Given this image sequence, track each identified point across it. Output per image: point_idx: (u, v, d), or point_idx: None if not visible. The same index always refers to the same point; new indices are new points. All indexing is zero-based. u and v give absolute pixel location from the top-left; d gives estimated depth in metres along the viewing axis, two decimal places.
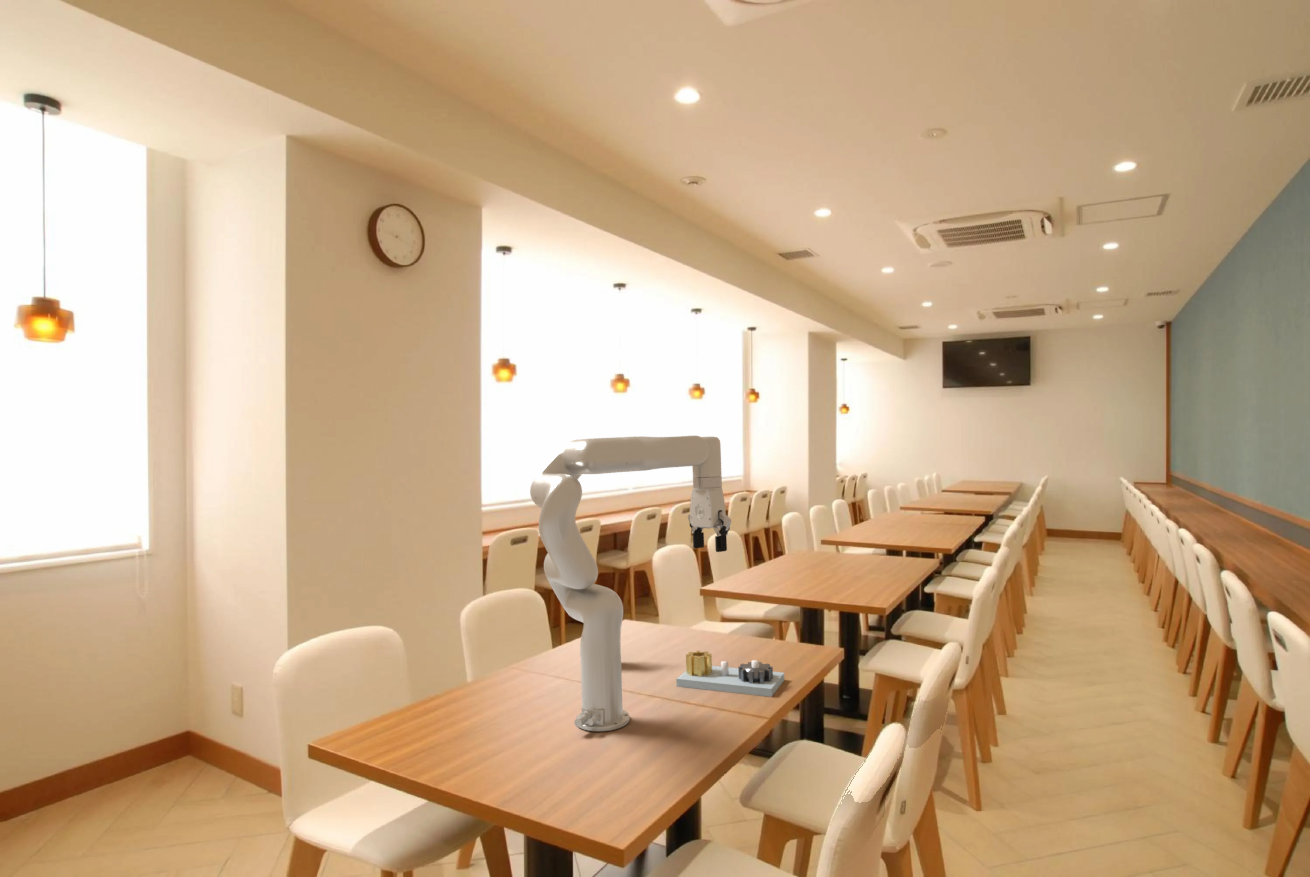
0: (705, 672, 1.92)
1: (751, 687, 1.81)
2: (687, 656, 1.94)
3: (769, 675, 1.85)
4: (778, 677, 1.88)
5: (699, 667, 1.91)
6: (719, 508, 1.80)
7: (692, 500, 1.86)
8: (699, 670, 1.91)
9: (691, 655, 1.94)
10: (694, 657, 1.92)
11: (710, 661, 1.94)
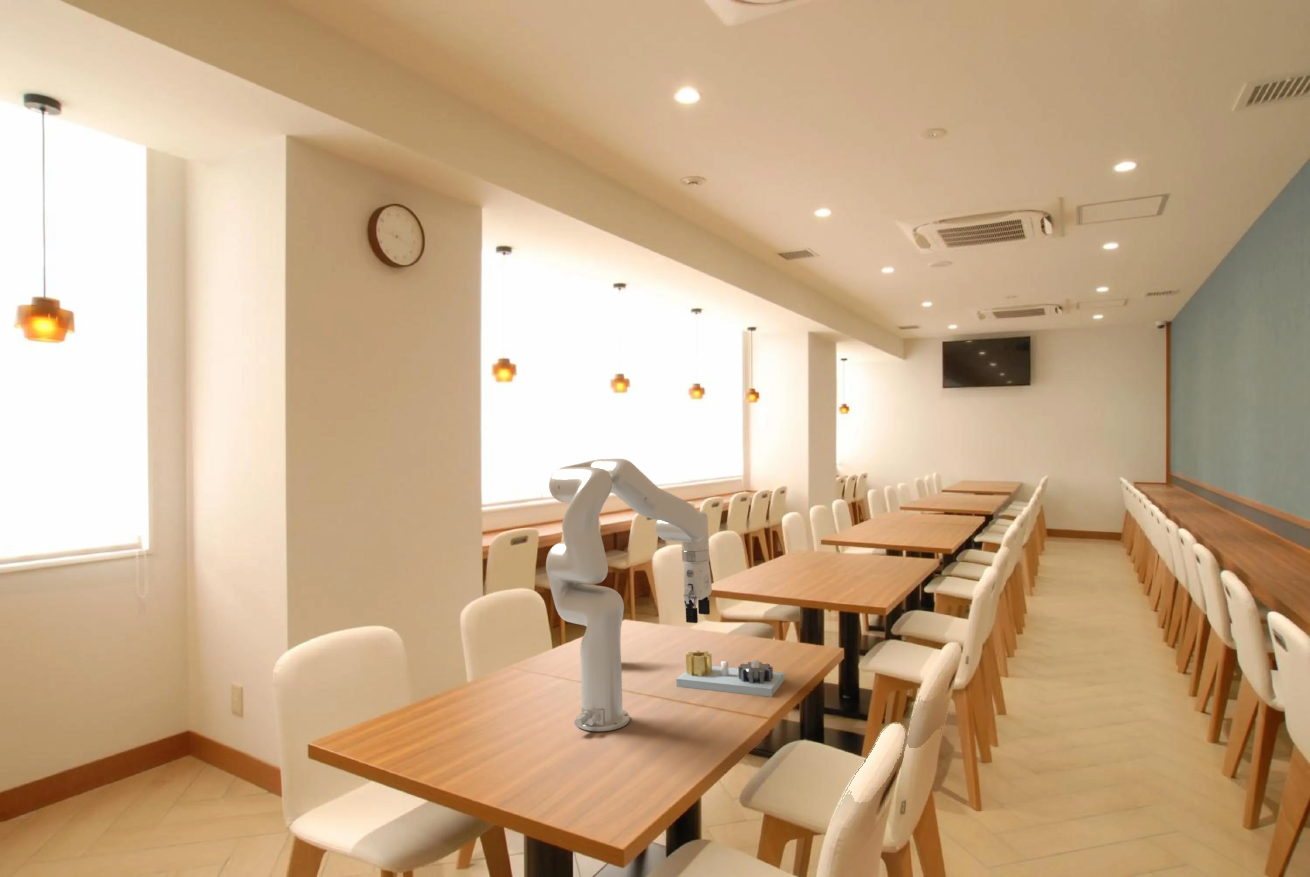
0: (705, 672, 1.92)
1: (751, 687, 1.81)
2: (687, 656, 1.94)
3: (769, 675, 1.85)
4: (778, 677, 1.88)
5: (699, 667, 1.91)
6: None
7: (701, 573, 1.91)
8: (699, 670, 1.91)
9: (691, 655, 1.94)
10: (694, 657, 1.92)
11: (710, 661, 1.94)
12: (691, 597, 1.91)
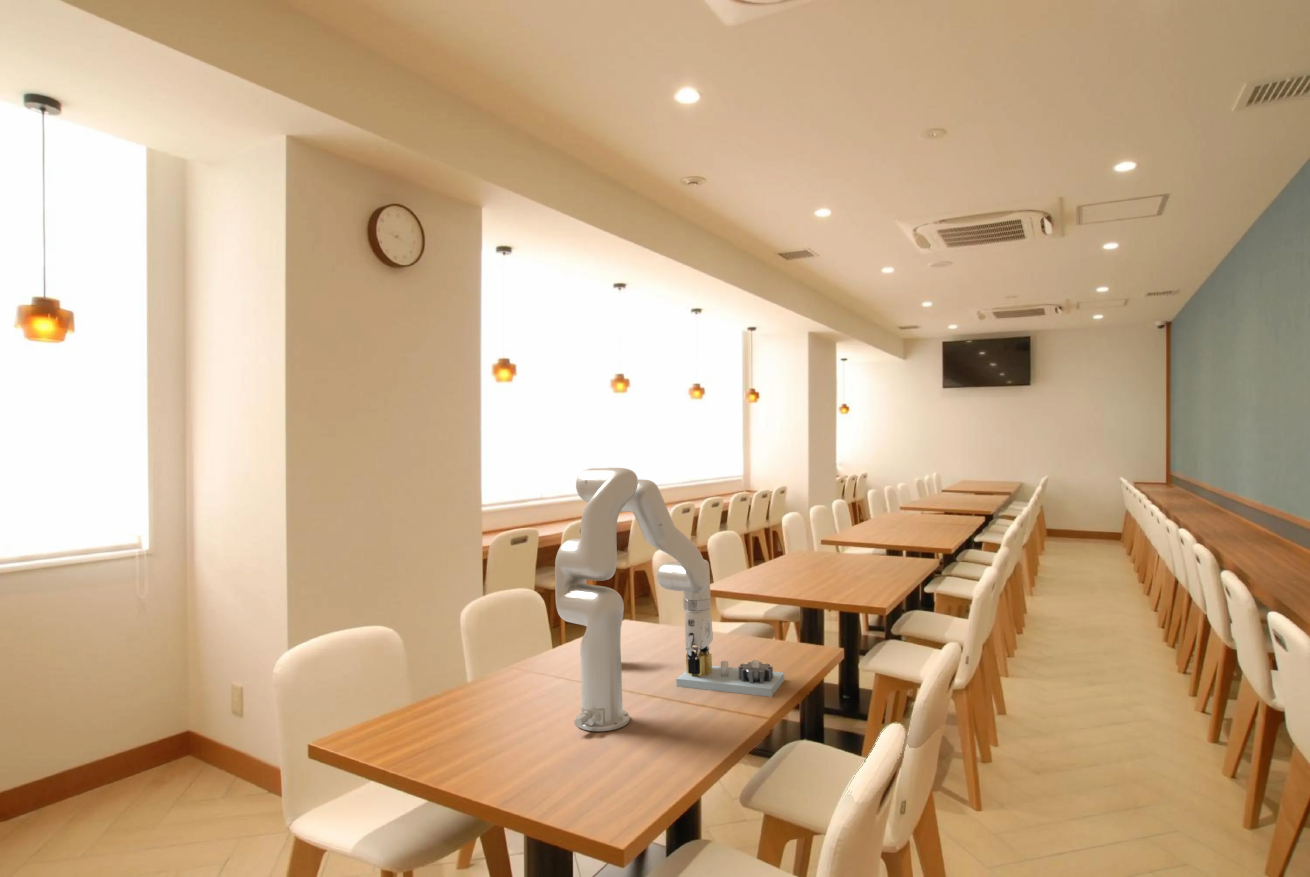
0: (705, 672, 1.92)
1: (751, 687, 1.81)
2: (687, 656, 1.94)
3: (769, 675, 1.85)
4: (778, 677, 1.88)
5: None
6: None
7: (702, 623, 1.91)
8: None
9: None
10: None
11: (710, 661, 1.94)
12: (693, 648, 1.91)
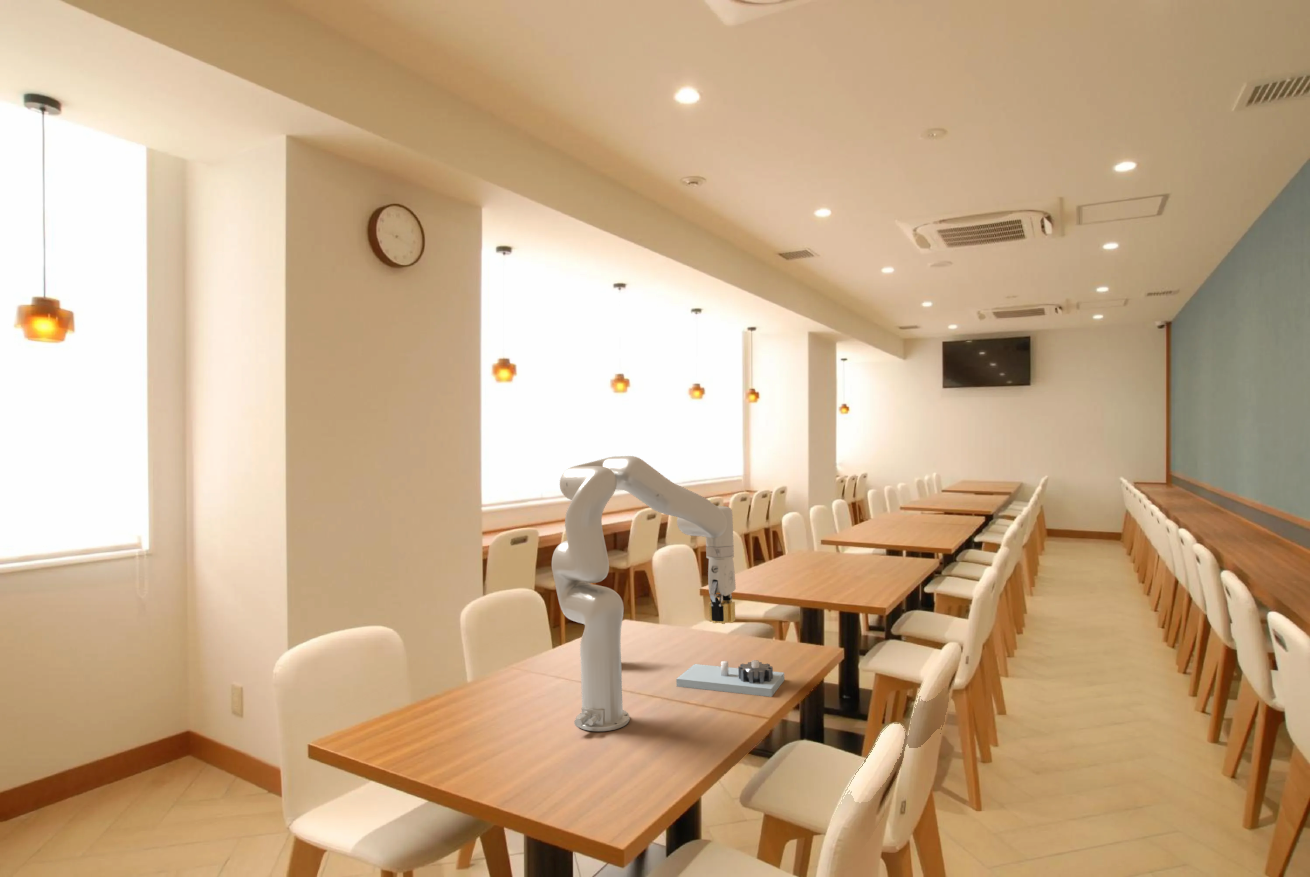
0: (729, 620, 1.90)
1: (751, 687, 1.81)
2: (710, 604, 1.92)
3: (769, 675, 1.85)
4: (778, 677, 1.88)
5: None
6: None
7: (726, 569, 1.88)
8: None
9: None
10: None
11: (733, 609, 1.92)
12: (716, 595, 1.88)
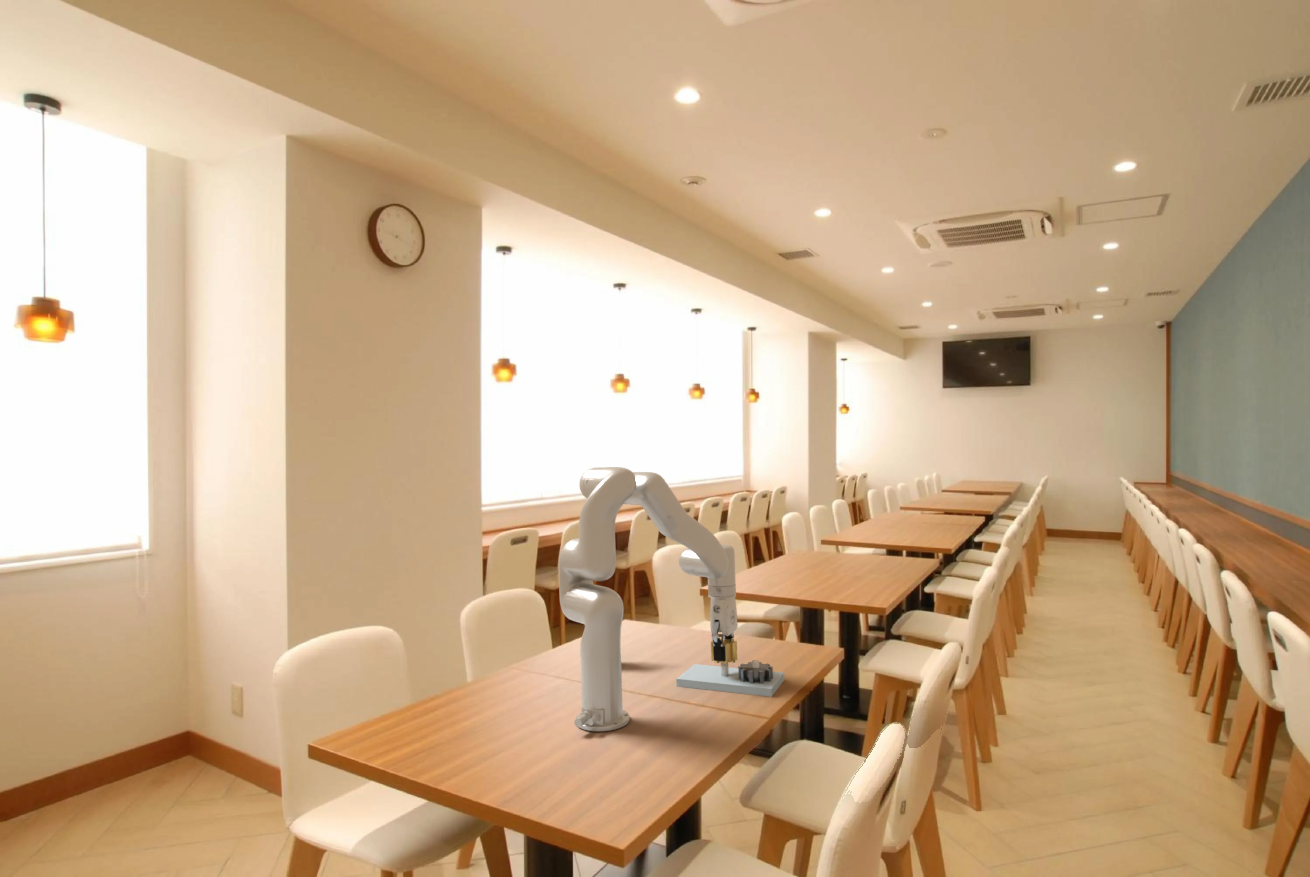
0: (731, 659, 1.89)
1: (751, 687, 1.81)
2: (712, 643, 1.91)
3: (769, 675, 1.85)
4: (778, 677, 1.88)
5: None
6: None
7: (728, 609, 1.88)
8: None
9: None
10: None
11: (735, 648, 1.91)
12: (718, 635, 1.88)
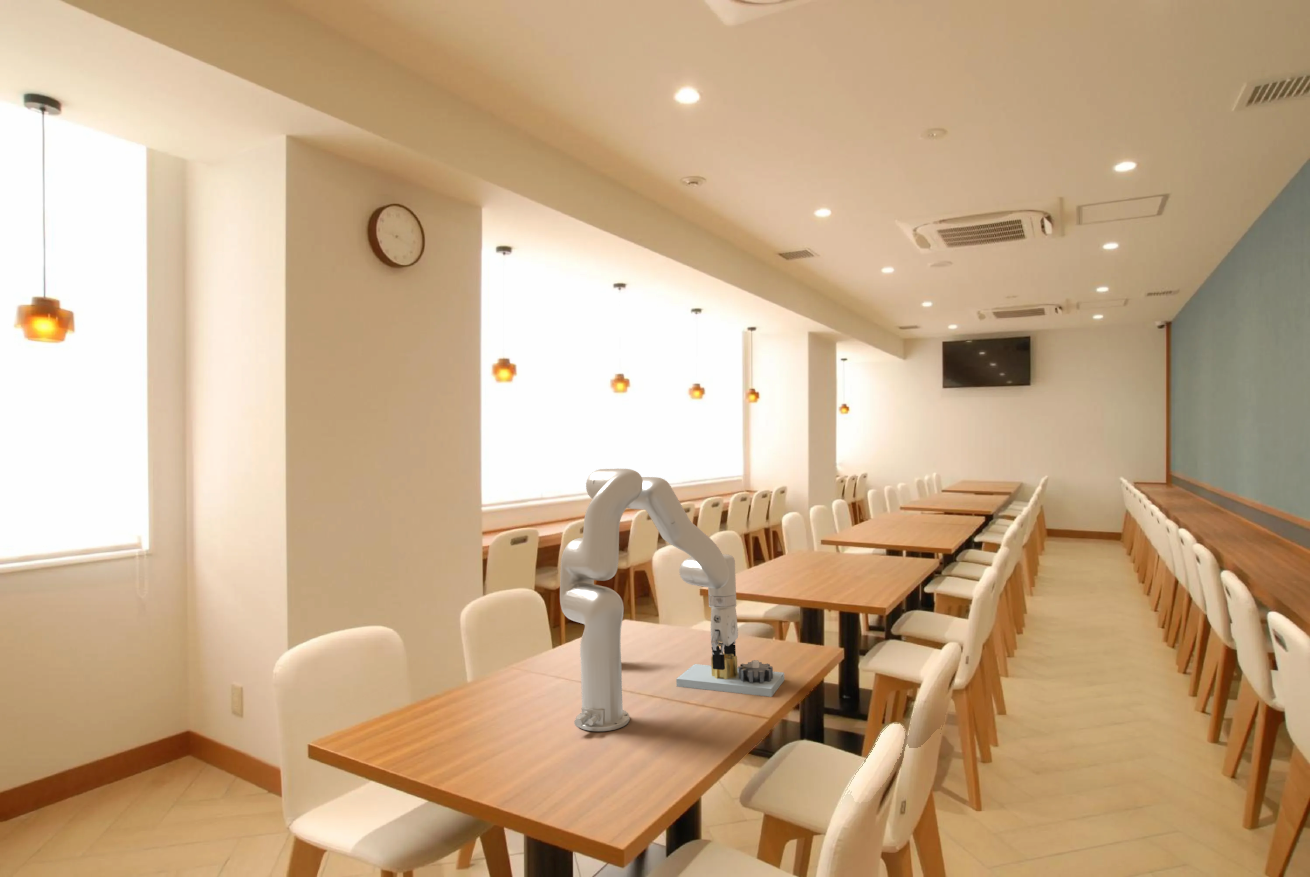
0: (731, 675, 1.89)
1: (751, 687, 1.81)
2: None
3: (769, 675, 1.85)
4: (778, 677, 1.88)
5: (725, 670, 1.88)
6: None
7: (728, 619, 1.88)
8: (725, 672, 1.88)
9: None
10: None
11: (736, 664, 1.91)
12: (718, 643, 1.88)
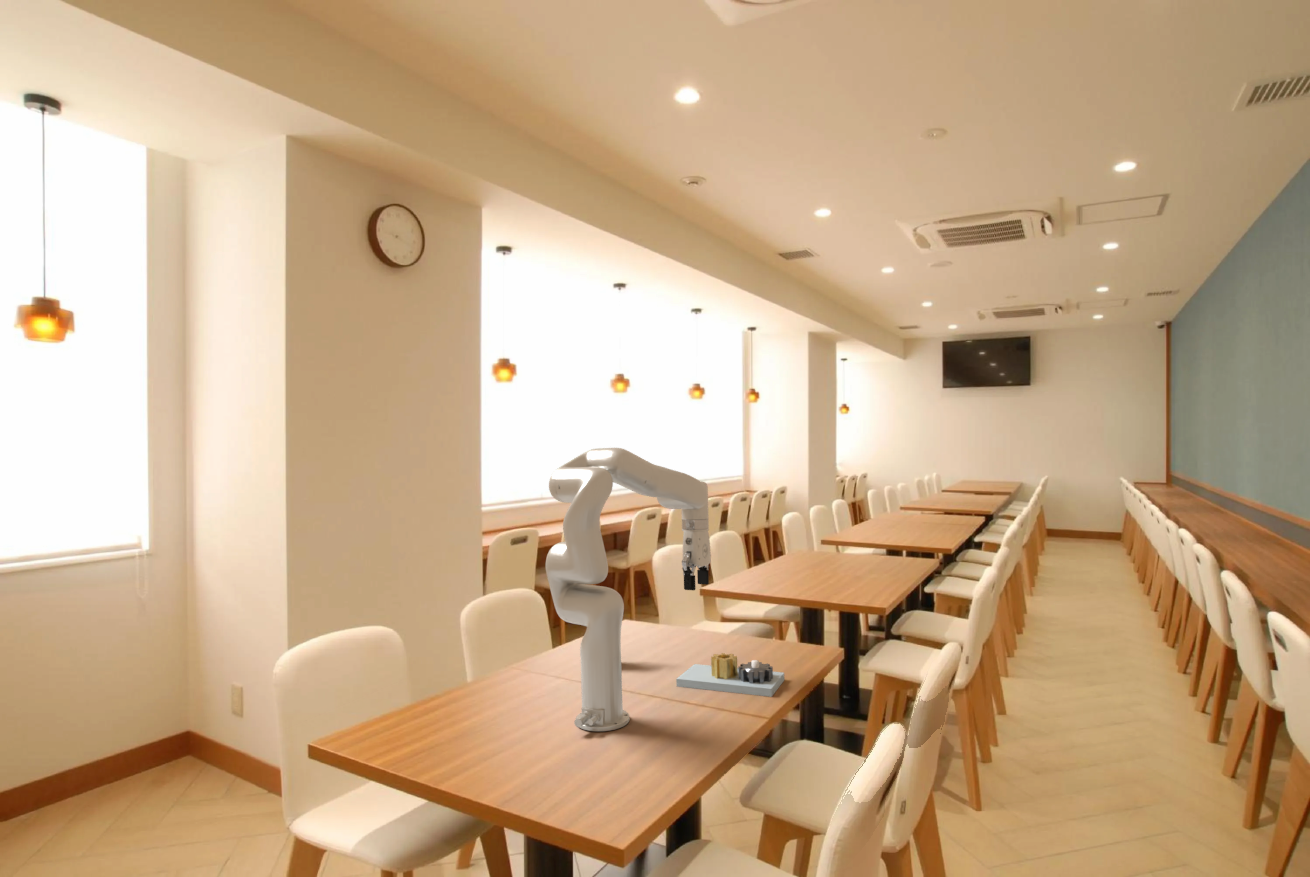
0: (731, 675, 1.89)
1: (751, 687, 1.81)
2: (712, 658, 1.91)
3: (769, 675, 1.85)
4: (778, 677, 1.88)
5: (725, 670, 1.88)
6: None
7: (699, 541, 1.94)
8: (725, 672, 1.88)
9: (716, 657, 1.91)
10: (720, 659, 1.89)
11: (736, 664, 1.91)
12: (689, 565, 1.93)
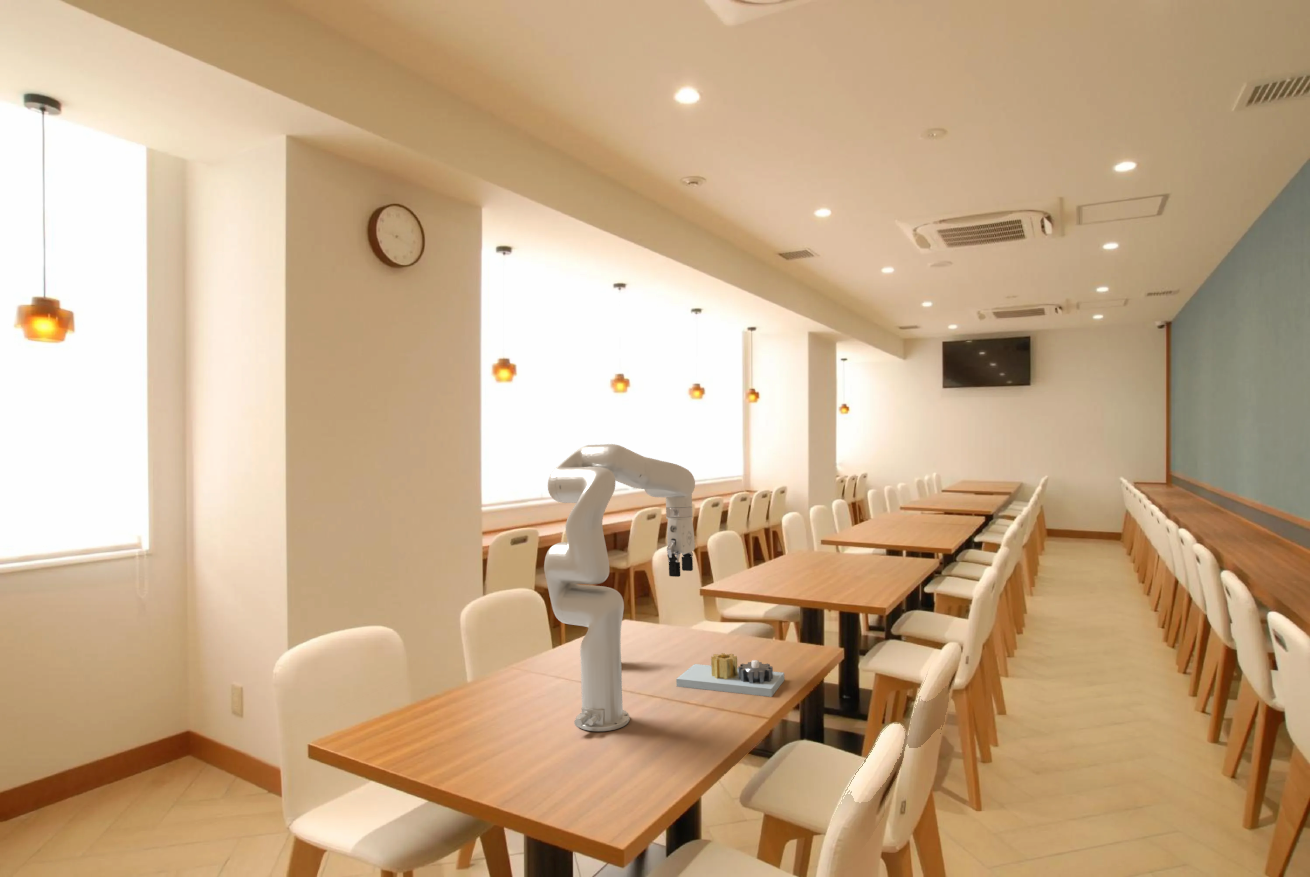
0: (731, 675, 1.89)
1: (751, 687, 1.81)
2: (712, 658, 1.91)
3: (769, 675, 1.85)
4: (778, 677, 1.88)
5: (725, 670, 1.88)
6: None
7: (684, 529, 1.97)
8: (725, 672, 1.88)
9: (716, 657, 1.91)
10: (720, 659, 1.89)
11: (736, 664, 1.91)
12: (674, 552, 1.97)
